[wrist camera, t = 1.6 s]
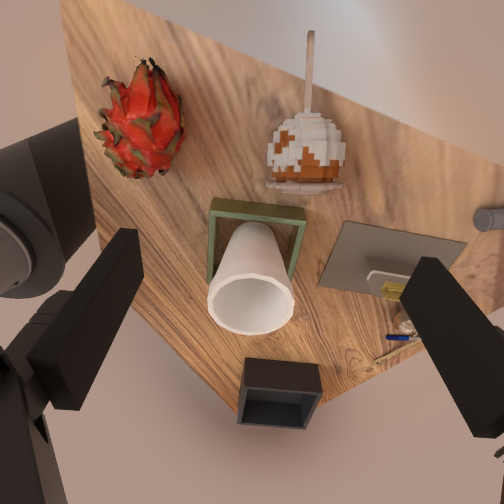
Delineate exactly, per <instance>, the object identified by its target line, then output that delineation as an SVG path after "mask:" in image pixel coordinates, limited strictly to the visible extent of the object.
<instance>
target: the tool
mask: <svg viewBox="0 0 504 504" xmlns="http://www.w3.org/2000/svg"><path fill="white" fill-rule="evenodd" d="M420 341H422V340H421V338H420V339H417V340H415V341H413V342H411V343H409V344H407V345H405V346H403V347H401V348H399V349H397V350H395V351H393V352H391V353H389V354H388V355H385V356H383V357H381V358H379V359H377V360H375V361H374V362H373V364H374V365H376V366H381V365H382V364H383V363H385V362H386V361H387V360H388V359H389V358H391V357H392V356H394V355H395V354H397V353H399V352H401V351H403V350H405V349H407V348H408V347H410V346H412V345H414V344H416V343H418V342H420ZM377 362H378V363H379V364H376V363H377Z"/></svg>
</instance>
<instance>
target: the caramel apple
mask: <svg viewBox="0 0 504 504" xmlns="http://www.w3.org/2000/svg"><path fill="white" fill-rule="evenodd" d="M314 37H315V31H309V32H308V35H307V57H306V78H305V99H304V113H297V114H296V115H295V116H294V119H286V120H285V121H284V122H283V125H280V126H279V127H278V131H275V132H274V133H273V143H268V150H267V161H268V166H272V177H277V181H271V182H267V187H268V188H275V189H281V192H283V193H290V194H323V193H326V191H327V190H333V189H341V188H342V186H343V183H342V182H332V180H333V177H338V171H339V166H344V162H345V150H346V143H345V142H341V133H342V131H340V130H336V127H337V125H335V124H331V120H332V119H324V117H321V113H311V94H312V74H313V56H314Z"/></svg>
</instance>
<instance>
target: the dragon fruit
mask: <svg viewBox="0 0 504 504" xmlns="http://www.w3.org/2000/svg"><path fill="white" fill-rule="evenodd" d="M135 57H136V56H135ZM141 61H142V63H141V64H139V66H137V69H136V71H135V73H134V76H133V79H132V82H131V84H130V86H129V87H128V88H126V86H125V84H124V83H123V82H122V83H120V82H117V81H114V80H112V79H110V80H109V77H108V76H107V77H106V78H105V79H104V80H103V84H102V87H104V86H106V85H109V87H110V88H111V90H112V91H111V93H110V96H111V100H112V103H113V109H111V110H107V109H104V108H101V109H99V111H98V114H99V115H100V117H102V118H104V119H105V120H106V121H107V122H105V123H104V124H102V129H103V131H98V132H95V131H94V135H95V137H96V138H97V139H99V140H103V141H105V142H104V144H103V145H102V146H103V147H107V148H106V150H105V153H104V154H105V155H106V156H107V157H109V158H111V159H112V162H113V165H114V166H115V167H116V168H117V169H118V170H119V171H120V173H121V174H122V176H123V177H125V176H126V175H125V173H126V174H127V178H135V179H141V178H143V177H146V178H151V177H152V176H153V175H154V171H155V170H159V171H158V172H159V174H160V175H162V176H164V175H165V174H166V172H168V170H169V168H170V166H171V165H170V162H171V161H172V160H173V158H174V156H175V154H176V152H177V151H179V149H180V146H181V144H182V142H183V141H184V139H185V138H186V136H187V130H186V127H185V121H184V117H183V112H182V103H181V98H180V95H178V97H177V95H176V93H175V92H174V90H173V89H172V87H171V85H170V83H169V81H168V78H167V76H166V74H165V72H164V71H163V70H162V69H161V68H160V67H159V66H158V65H155V62H154V60H153V59H152V58H151V57H150V58H149V61H150V63H151V64H152V66H153V67H154V68H153V69H152V70H149V66H148V65H147V64H146V60H141ZM158 74H159V75H158ZM106 117H107V118H106ZM162 169H163V170H162Z"/></svg>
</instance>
